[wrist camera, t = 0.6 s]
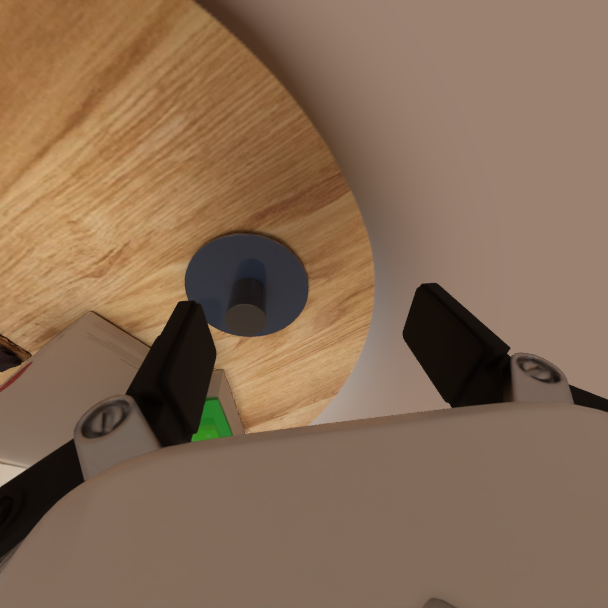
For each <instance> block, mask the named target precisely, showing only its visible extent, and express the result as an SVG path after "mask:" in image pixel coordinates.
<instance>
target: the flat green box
mask: <svg viewBox="0 0 608 608" xmlns="http://www.w3.org/2000/svg"><path fill="white" fill-rule="evenodd" d="M243 434H245V432H244V429H243V426H242V423H241V420H240V417H239V414H238V411H237V408H236V405H235V402H234V400H233V397H232V394H231V391H230V388H229V385H228V382H227V379H226V376H225V373H224V370H214V371H213V372H212V376H211V380H210V384H209V389H208V393H207V397H206V401H205V405H204V409H203V413H202V417H201V422H200V426H199V430H198V432H197V433H196V434H193V436H192V440H191V442H195V441H202V440H209V439H215V438H222V437H229V436H236V435H243Z"/></svg>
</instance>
